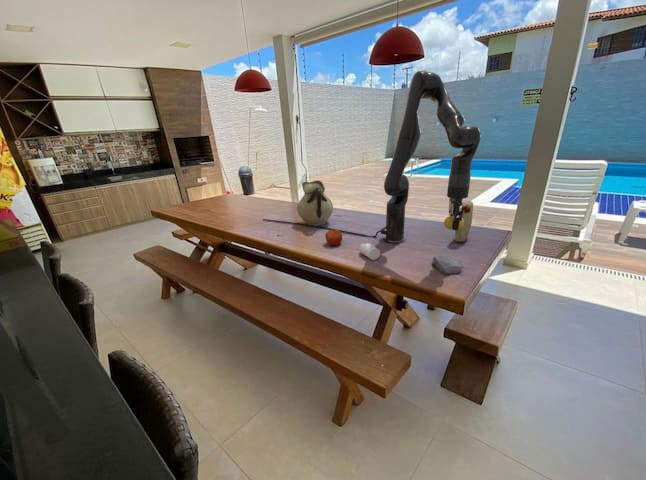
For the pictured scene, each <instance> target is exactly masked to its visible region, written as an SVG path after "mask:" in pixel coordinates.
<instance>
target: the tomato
mask: <svg viewBox="0 0 646 480" xmlns="http://www.w3.org/2000/svg"><path fill="white" fill-rule="evenodd" d="M331 229H332V230H330V229H329V230H328V231H327V232H325V236H324V237H325V240H326V243H327V244H328V245H329V246H338V245H340V244H341V243H342V241H343V234H342V233H343V232H340V231H339V230H340V229H337V230H336V228H331ZM333 229H334V230H333Z"/></svg>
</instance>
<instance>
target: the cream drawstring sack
mask: <svg viewBox="0 0 646 480" xmlns="http://www.w3.org/2000/svg"><path fill="white" fill-rule="evenodd" d="M301 187H302V190H303V192H304V194H303V196H302V197H301V199H300V200H298V203H297V206H296V211H297V214H298V216H299V217H300V218H301V220H302V221H304V222H305V224H308V225H314V226H320V227H321V226H323V225H325V224H326V222H327V221H328V220H329V219H330V218H331V216H332V214H333V211H334V204H333V202H332V200H331V199H330V198H329V197H328V196H327V195H326V194H325V191H326V188H325V184H324V183H323V182H322V181H321V180H313V181H303V182H302V184H301Z"/></svg>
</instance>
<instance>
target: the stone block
mask: <svg viewBox="0 0 646 480" xmlns="http://www.w3.org/2000/svg"><path fill="white" fill-rule="evenodd" d="M432 263H433V265H434V266H435V267H436V268H437V269H438V270H439V271H440V273H442V274H444V275H451V274H458V273H459V274H460V273H461V272H462V270H463V269H464V264H463V263H462V262H460V261H459V260H458V259H457V258H456V257H455V256H453V255H451V254H436V255H434V256H433V258H432Z"/></svg>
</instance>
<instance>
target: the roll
mask: <svg viewBox="0 0 646 480" xmlns="http://www.w3.org/2000/svg"><path fill="white" fill-rule="evenodd" d="M359 247H360V252H361V253H362V254H363V255H364V256H365V257H367V258H368V259H369V260H372V261H375V260H377V259H378V258H379V257H380V256H381V251H380V250H379V248H377V247H375V246H374V244H371V243H361V244H360V246H359Z"/></svg>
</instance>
